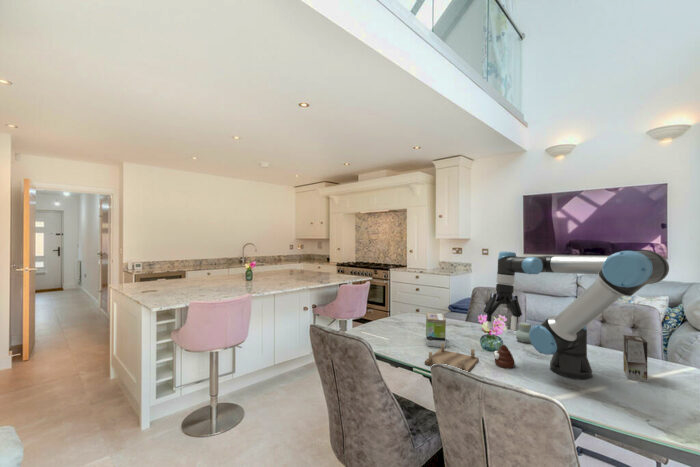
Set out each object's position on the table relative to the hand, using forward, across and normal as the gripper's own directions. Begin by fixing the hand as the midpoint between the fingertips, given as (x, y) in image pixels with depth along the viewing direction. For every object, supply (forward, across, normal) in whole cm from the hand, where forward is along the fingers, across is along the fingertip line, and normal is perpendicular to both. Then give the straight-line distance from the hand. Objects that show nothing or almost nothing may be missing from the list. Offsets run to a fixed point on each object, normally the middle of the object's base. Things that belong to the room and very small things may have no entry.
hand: (501, 329), depth 149 cm
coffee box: (+11, -43, +29) cm, 53 cm away
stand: (+18, +20, -7) cm, 28 cm away
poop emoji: (+16, -1, +2) cm, 16 cm away
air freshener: (+10, -36, -21) cm, 43 cm away
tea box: (+16, +12, -34) cm, 40 cm away
